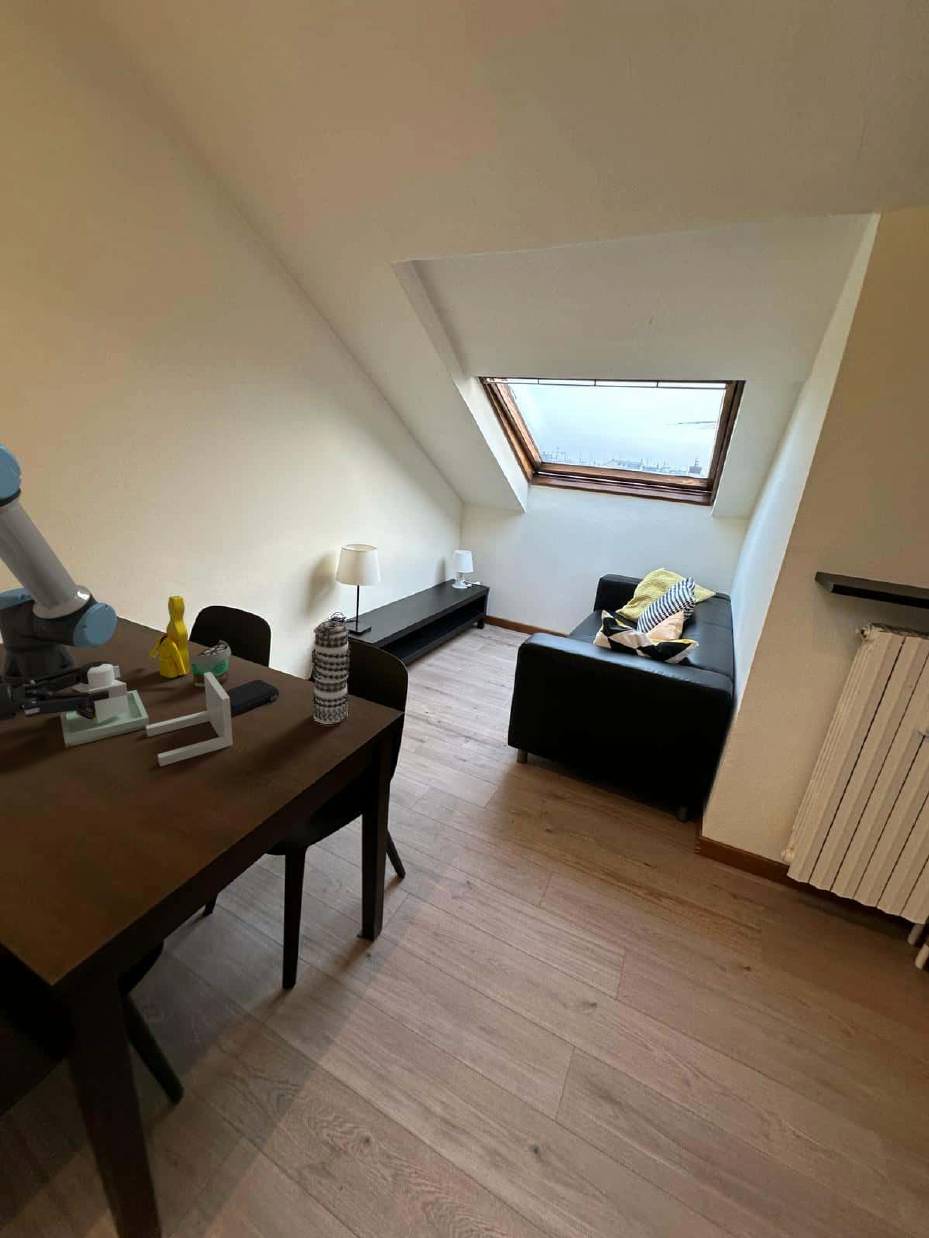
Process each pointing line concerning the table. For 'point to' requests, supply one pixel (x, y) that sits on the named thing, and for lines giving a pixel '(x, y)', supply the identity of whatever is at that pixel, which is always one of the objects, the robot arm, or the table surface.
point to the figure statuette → (173, 642)
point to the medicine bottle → (96, 678)
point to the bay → (215, 714)
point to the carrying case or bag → (250, 695)
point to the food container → (211, 664)
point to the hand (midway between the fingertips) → (122, 679)
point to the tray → (104, 723)
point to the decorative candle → (330, 672)
